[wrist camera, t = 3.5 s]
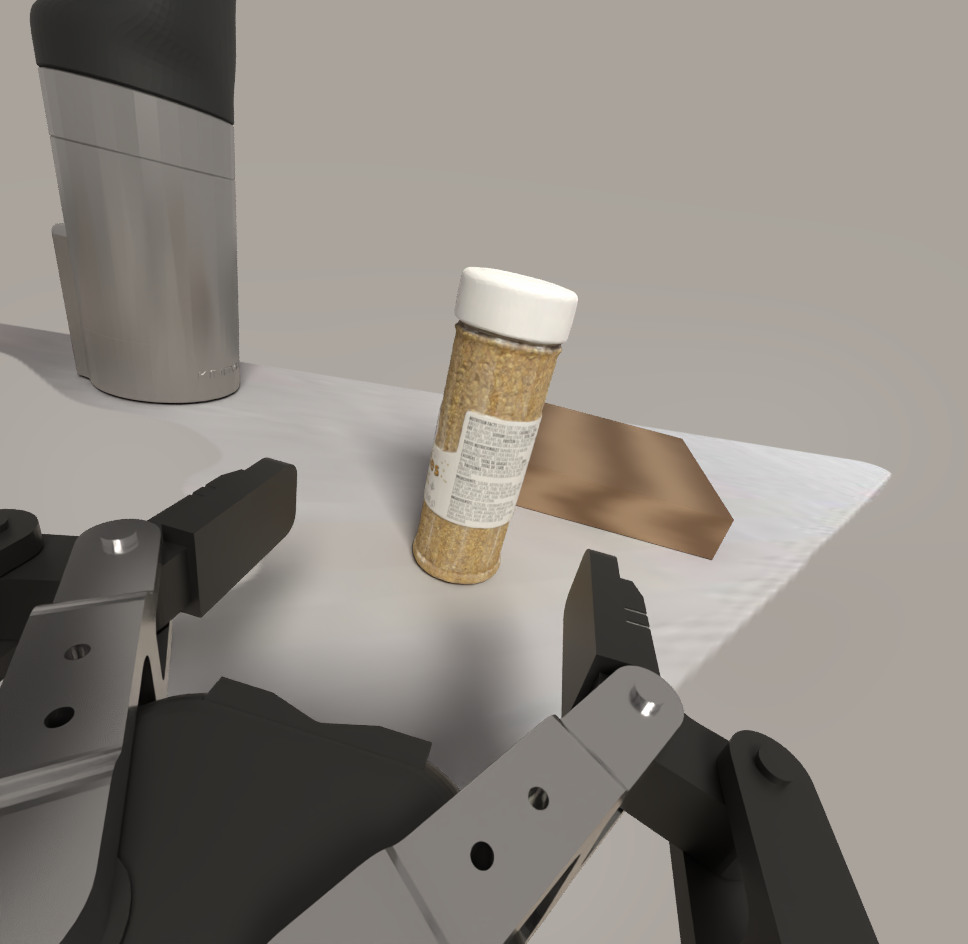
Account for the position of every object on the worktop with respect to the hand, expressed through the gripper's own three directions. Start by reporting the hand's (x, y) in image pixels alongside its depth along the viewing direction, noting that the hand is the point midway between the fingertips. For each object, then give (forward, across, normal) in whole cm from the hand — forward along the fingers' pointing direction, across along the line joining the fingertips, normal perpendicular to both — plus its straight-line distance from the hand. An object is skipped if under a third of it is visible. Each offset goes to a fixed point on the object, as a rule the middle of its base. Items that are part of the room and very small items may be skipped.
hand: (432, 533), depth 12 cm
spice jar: (+9, 0, +7) cm, 11 cm away
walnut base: (+23, -8, +7) cm, 25 cm away
